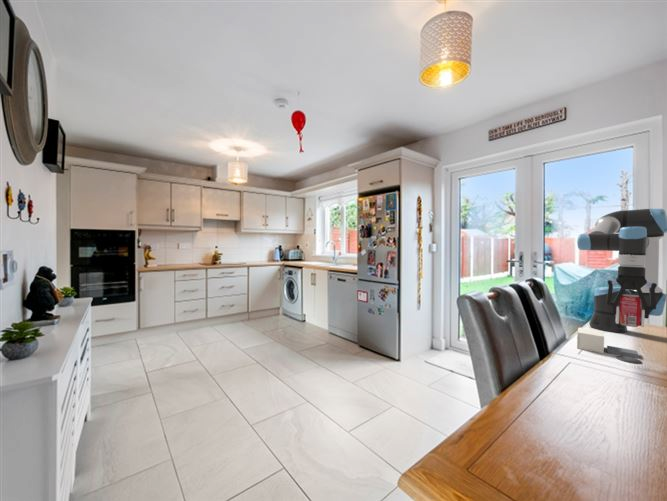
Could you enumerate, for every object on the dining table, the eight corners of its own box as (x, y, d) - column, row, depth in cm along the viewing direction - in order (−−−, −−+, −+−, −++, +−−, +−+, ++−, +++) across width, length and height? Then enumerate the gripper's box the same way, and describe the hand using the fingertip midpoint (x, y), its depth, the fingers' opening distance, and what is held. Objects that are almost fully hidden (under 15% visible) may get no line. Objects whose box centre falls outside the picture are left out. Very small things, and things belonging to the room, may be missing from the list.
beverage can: (630, 323, 116) (631, 294, 116) (645, 328, 110) (647, 296, 110) (613, 323, 117) (614, 293, 117) (628, 327, 111) (629, 296, 111)
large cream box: (577, 348, 127) (577, 332, 126) (578, 342, 135) (578, 327, 135) (603, 353, 121) (604, 336, 121) (602, 346, 129) (603, 331, 129)
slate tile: (606, 350, 126) (606, 345, 126) (636, 355, 120) (636, 350, 120) (607, 353, 122) (607, 349, 122) (638, 359, 116) (638, 354, 116)
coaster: (615, 355, 119) (615, 354, 119) (640, 359, 114) (640, 358, 114) (616, 360, 114) (616, 359, 114) (642, 365, 109) (642, 364, 109)
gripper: (598, 265, 117) (596, 321, 117) (670, 268, 104) (668, 331, 105) (598, 264, 123) (596, 318, 123) (666, 267, 110) (664, 327, 110)
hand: (629, 324), depth 114 cm, fingers closed on beverage can, 6 cm apart
